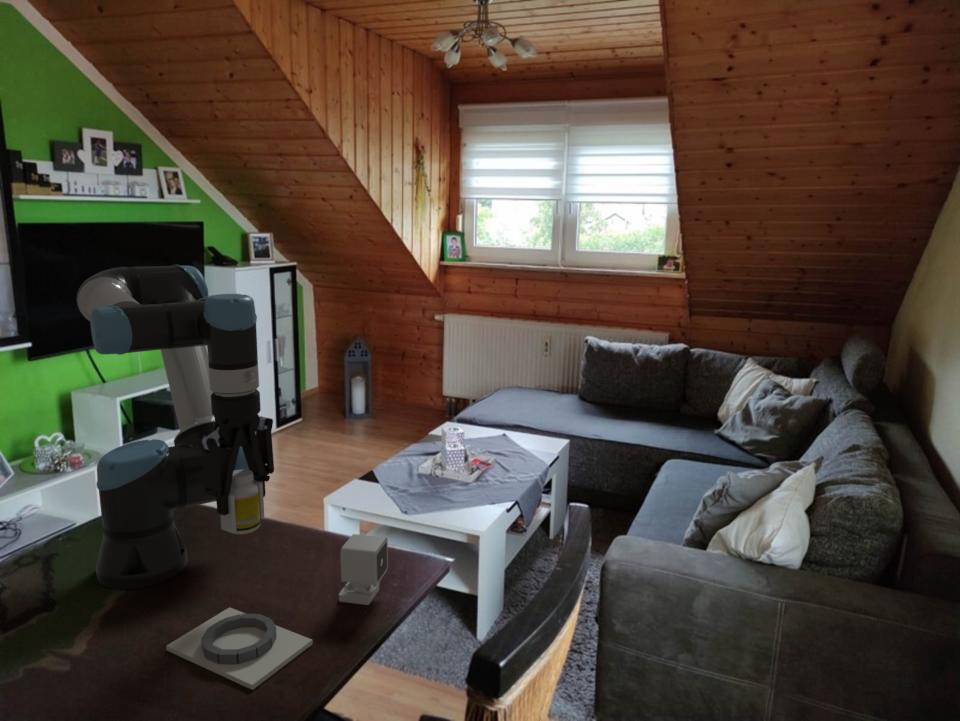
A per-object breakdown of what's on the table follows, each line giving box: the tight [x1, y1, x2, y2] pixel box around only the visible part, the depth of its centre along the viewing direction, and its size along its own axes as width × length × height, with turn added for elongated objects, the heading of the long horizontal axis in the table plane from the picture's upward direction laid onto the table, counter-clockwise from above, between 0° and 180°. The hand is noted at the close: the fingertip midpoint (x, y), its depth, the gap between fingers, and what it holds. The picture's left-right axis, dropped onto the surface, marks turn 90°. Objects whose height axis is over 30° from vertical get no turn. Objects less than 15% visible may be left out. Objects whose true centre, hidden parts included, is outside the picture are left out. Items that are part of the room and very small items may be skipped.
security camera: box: [338, 533, 389, 606], centre depth 119 cm, size 6×7×10 cm
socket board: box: [165, 606, 314, 691], centre depth 105 cm, size 18×12×2 cm, turn 61°
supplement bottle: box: [230, 469, 261, 535], centre depth 116 cm, size 5×5×10 cm
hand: (243, 523), depth 117 cm, fingers closed on supplement bottle, 5 cm apart
